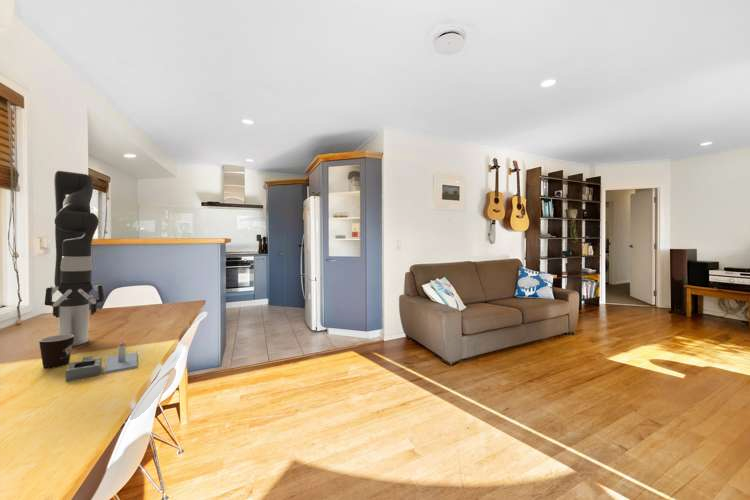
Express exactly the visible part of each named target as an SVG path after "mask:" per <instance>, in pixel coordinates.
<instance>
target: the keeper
mask: <svg viewBox="0 0 750 500" xmlns="http://www.w3.org/2000/svg"><path fill="white" fill-rule="evenodd" d="M117 352H118V353H117V355H112V356H110V355H109V356H107V357H106V362H105V365H104V368H103V374H105V375H106V374H109V373H114V372H119V371H120V372H121V371H127V370H131V369H137V368H138V351H137V352H130V353H126V343H125V342H120V343H119V344H118V351H117Z"/></svg>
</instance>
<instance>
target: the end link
mask: <svg viewBox="0 0 750 500" xmlns="http://www.w3.org/2000/svg"><path fill="white" fill-rule="evenodd" d="M93 357H94V356H93V355H91V356H84V357H82V360H80V361H73V362H69V364H68V365H67V369H66V370H65V382H72V381H76V380H77V381H78V380H83V379H87V378H88V379H89V378H93V377H94V378H95V377H100V374H101V370H102V367H103V366H102V365H103V363H102V362H103V358H102V357H99V358H93Z"/></svg>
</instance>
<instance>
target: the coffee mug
mask: <svg viewBox="0 0 750 500" xmlns="http://www.w3.org/2000/svg"><path fill="white" fill-rule="evenodd" d="M73 342H74V335H70V334H65V335H57V334H56V335H50V336H46V337H42V338H40V339H39V340H38V343H39V349H40V350H39V351H40V356H41V362H42V368H43V369H45V370H47V369H48V370H50V369H58V368H62V367H64V366H68V365H70V360H71V359H70V358H71V353H72V348H73V346H72V344H73Z"/></svg>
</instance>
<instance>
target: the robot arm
mask: <svg viewBox="0 0 750 500" xmlns="http://www.w3.org/2000/svg"><path fill="white" fill-rule="evenodd" d="M53 189H54V202H55V203H54V204H55V218H54V226H55V227H54V230H55V231H54V236H55V237H54V238H55V239H54V240H55V269H54V286H52V285H51V286H48V287H46V288H45V297H44V306H51V307H52V316H53V317H55V318H58V335H65V334H70V335H74V342H73V344H72V347H74V346H78V345H82V344H85V343H87V342H88V341H89V322H90V321H89V318H90V315H91V316H92V315H95V313H96V312H97V311H98V303H102V302H104V300H105V295H104V294H105V292H104V284H98V285H97V284H96V285H92V271H93V270H92V269H93V268H92V264H93V262H92V242H93V239H94V237H95V236H94V235H95V233H96V231H97V229H98V226H99V217H98V216H97V215H96V214H95V213H92V212H91V200H92V196H93V192H94V181H93V178H92V176H90V174H89V175H88V174H85V173H81V172H72V171H68V170H67V171H66V170H56V171H55V172H54V175H53ZM93 289H94V291H95V292H97V293H98V295H97V296H98V297H97V298H95V297H94V296H93V295H92V294H91V291H92V290H93ZM57 291H58V292H59V293H60V294H61V295H60V297H59V298H58V299H57V300H55V301H53V294H55V293H56V292H57ZM89 303H90V304H89ZM89 305H90V307H89ZM89 312H90V314H89Z"/></svg>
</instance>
